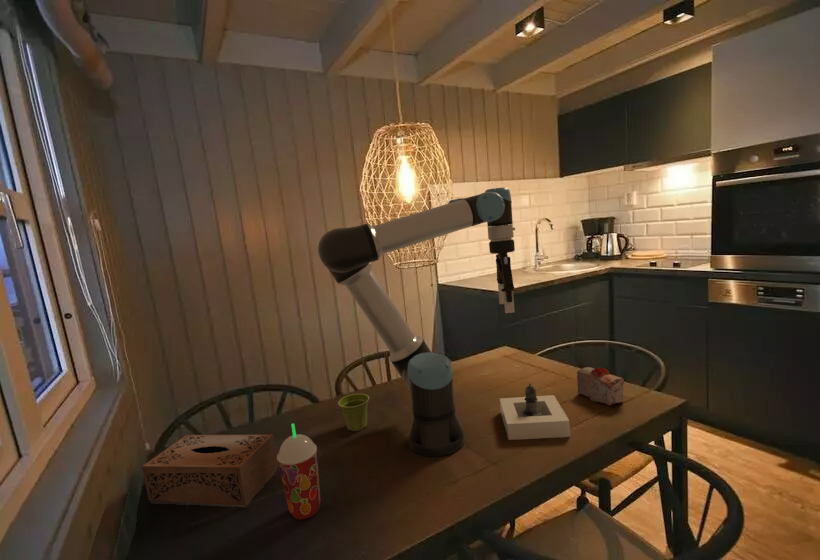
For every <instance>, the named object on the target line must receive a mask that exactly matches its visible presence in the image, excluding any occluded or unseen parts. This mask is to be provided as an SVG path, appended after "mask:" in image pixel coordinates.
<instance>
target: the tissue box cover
mask: <svg viewBox="0 0 820 560" xmlns="http://www.w3.org/2000/svg"><path fill="white" fill-rule="evenodd" d="M275 446H276V445H275V439H274V435H273V434H185V435H184V436H183V437H181V438H180V439H178V440H176V442H174V443H173V444H171V445H170V446H169V447H167V448H166V449H164V450H163V451H162V452H160V453H158V454H157V455H156V456H154V457H153V458H151V459H150V460H149V461H147V462H146V463H144V464H143V465H142V466H141V468H142V473H143V478H144V484H145V489H146V493H147V498H148V501H149V500H162V501H171V502H190V503H203V504H222V505H223V504H224V505H243V506H246V505H247V504H248V503H249V502H250V501H251V499H252V498H253V497H254V496H255V495H256V493H257V492H258V491H259V490H260V489H261V487H262V486H263V485H264V484H265V483H266V481H267V480H268V479H269V478H270V477H271V476H272V474H273V473H274V472H275V471H276V470H277V468H278V469H279V465H278V461H277V453H276V452H277V451H276V447H275Z"/></svg>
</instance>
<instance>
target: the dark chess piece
mask: <svg viewBox="0 0 820 560" xmlns="http://www.w3.org/2000/svg"><path fill="white" fill-rule="evenodd" d="M524 392H525V397H526V398H525V401H526V408H524V409H523V410H522V411H521V413H522V414H523V417H529V416H542V414H543V411H542V410H541V409H539V408H538V407H537V400H538V399H537V398H536V396H537V391H536V387H534V386H532V384H531V383H529V384H528V386H526V387H525V390H524Z"/></svg>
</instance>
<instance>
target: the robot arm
mask: <svg viewBox="0 0 820 560" xmlns="http://www.w3.org/2000/svg"><path fill="white" fill-rule="evenodd" d="M511 195H512V194H511V190H510V189H509V188H508V187H502V186H501V187H494V188H489V189H486V190H485V191H484V192H482V193H479V194H476V195H472V196H469V197H468V196H467V197H464V198H461V197H458V198H455V199H450V200H449V201H448V203H445V204H443V205H439V206H436V207H433V208H429V209H426V210H423V211H418V212H415V213H412V214H409V215H406V216H405V215H404V216H401V217H400V218H399V217H398V218H395V219H391V220H389V221H386V222H382V223H378V224H375V225H371V224H369V223H365V224H361V225H357V226H352V227H351V226H350V227H339V228H338V227H337V228H333V229H331V230H329V231H327V232H326V233H324V234H323V235H322V237H320V239H319V242H318V247H317V252H318V257H319V259H320V261H321V263H322V264H323V265H324V267H325V268H327V270H328V271H329V273H330V275H331V276H332V277H333V279H334V280H335V282H336V283H337V284H338V285H341V286H345V287H346V288H347V289H348V292H349V293H350V294H351V295H352V297H353V299H354V300H355V302H356V303H357V304H358V306H359V307H360V308H361V310H362V312H363V314H364V315H365V316H366V318H367V319H368V321H369V322H370V324H371V325H372V327H373V328H374V330H375V331H376V332H377V334H378V336H379V337H380V338H381V340H382V341H383V343H384V344H385V346H386V348H387V349H388V350H389V357H388V359H389V361H390V363H391V364H392V365H393V367H394V368H395V370H396V372H398V375H399V376H400V378H401V379H402V380H403V382H404V383H405V385H406V387H407V389H408V390H409V392H410V399H411V407H412V409H411V410H412V421H411V426H410V431H409V435H408V439H409V447H410V448H411V450H412V451H413V452H414V453H417V454H419V455H420V456H421V455H422V456H426V457H443V456H448V455H450V454H454V453H455V452H457V451H459V450H460V449H462V447H463V446H464V445H465V442H466V437H465V436H466V435H465V430H464V428H463V425H462V423H461V421H460V418H459V416H458V414H457V411H456V400H455V389H454V379H453V376H454V373H453V372H454V371H453V367H452V363H451V361H450V359H449V358H448V357H447V356H446V355H444V354H442V353H439V354H438V353H437V352H432V351H431V349H430V348H429V346H428V345H427V343H426V342H425V340H424V339H423V337H422V336H419V335H415V334H414V332H413V331H412V330H411V328H410V326H409V325H408V323H407V322H406V320H405V319H404V317H403V316H402V314H401V312H400V311H399V310H398V308H397V306H396V305H395V303H394V302H393V301H392V299H391V298H390V296H389V295H388V293H387V291H386V290H385V288H384V286H383V285H382V284H381V282H380V281H379V279H378V277H377V276H376V275H375V273H374V271H373V270H372V265H373V262H377V261H379V260H380V259H381V257H382V256H383V255H385V254H387V253H392V252H395V251H398V250H400V249H405V248H407V247H411V246H414V245H417V244H421V243H423V242H426V241H430V240H433V239H436V238H439V237H442V236H446V235H448V234H452V233H455V232H458V231H462V230H463V229H467V228H470V227H476V226H478V225H481V224H484V223H487V224H486V225H487V240H488V241H489V242H488V247H489V249H488V250H489V253H490V254H491V255H492V254H494V255H495V257H496V259H495V264H496V265H495V266H496V281H497V290H498V291H497V292H498V302H499V303H498V304H499V305H504V314H509V313H510V314H512V313H514V314H515V299H514V290H515V286H514V279H513V273H512V271H513V270H512V267H511V266H512V264H511V257H510V256H508V253H514V252H515V249H516V247H515V240H514V239H513V238H514V231H516V228H515V227H514V223H513V208H512V207H513V206H512V197H511Z"/></svg>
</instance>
